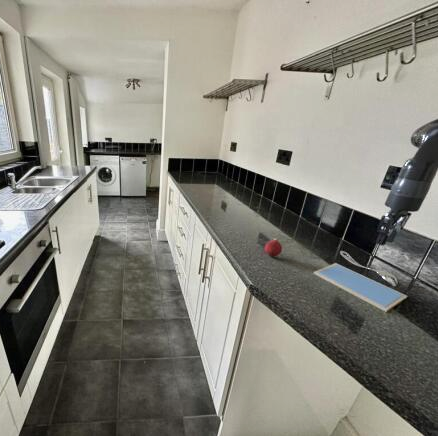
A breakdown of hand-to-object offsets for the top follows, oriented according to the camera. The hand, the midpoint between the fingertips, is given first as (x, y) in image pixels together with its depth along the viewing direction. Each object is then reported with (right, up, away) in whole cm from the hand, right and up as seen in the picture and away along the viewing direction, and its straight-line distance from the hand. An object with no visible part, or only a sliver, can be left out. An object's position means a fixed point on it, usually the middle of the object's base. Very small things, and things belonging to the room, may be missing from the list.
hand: (383, 242), depth 77 cm
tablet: (-9, -14, 0) cm, 17 cm away
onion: (-30, -7, +15) cm, 34 cm away
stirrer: (+2, -11, +9) cm, 14 cm away
